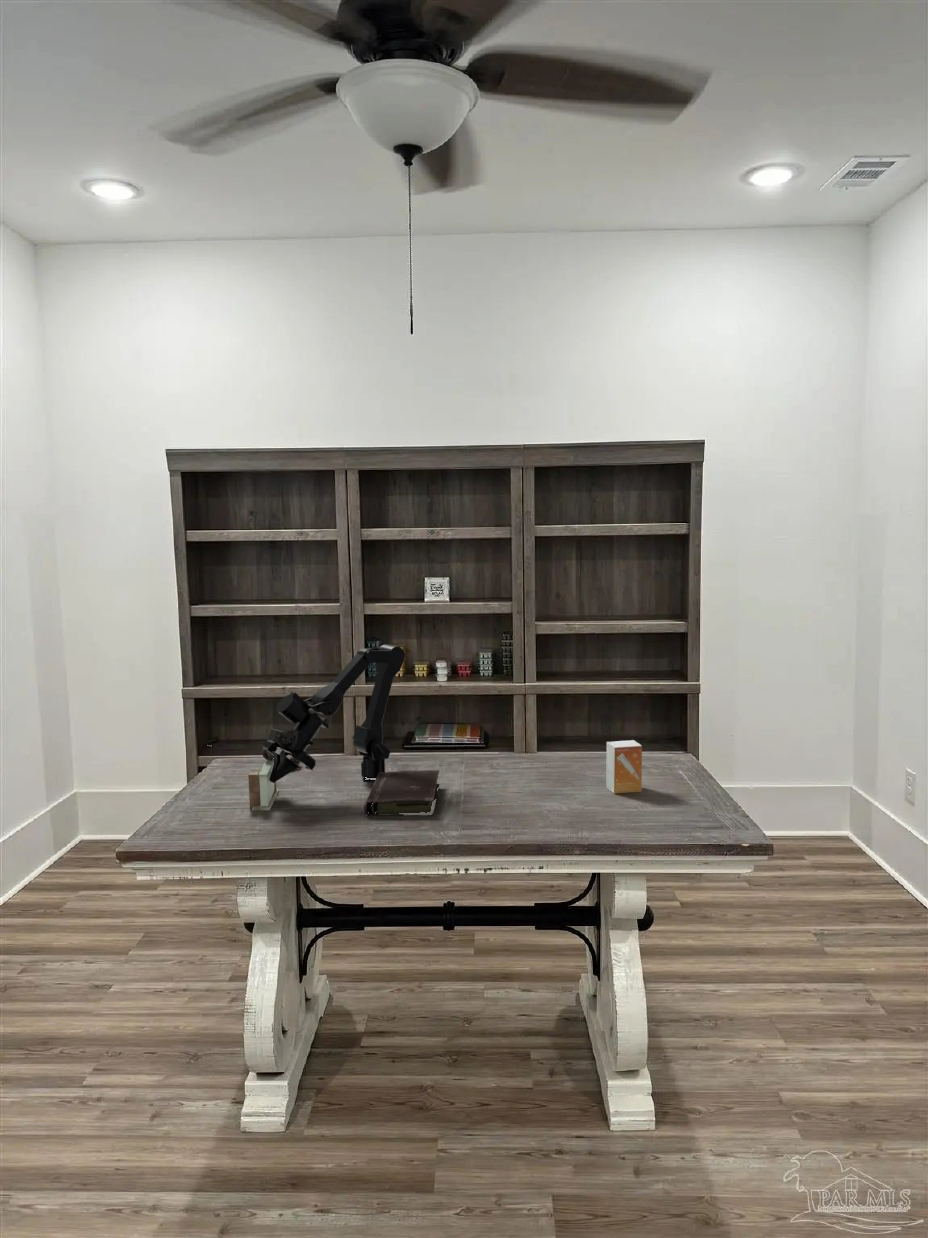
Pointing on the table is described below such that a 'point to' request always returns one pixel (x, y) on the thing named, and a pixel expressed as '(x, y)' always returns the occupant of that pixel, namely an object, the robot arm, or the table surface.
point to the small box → (624, 766)
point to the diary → (403, 792)
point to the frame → (258, 793)
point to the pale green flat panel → (266, 783)
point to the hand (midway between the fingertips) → (271, 781)
